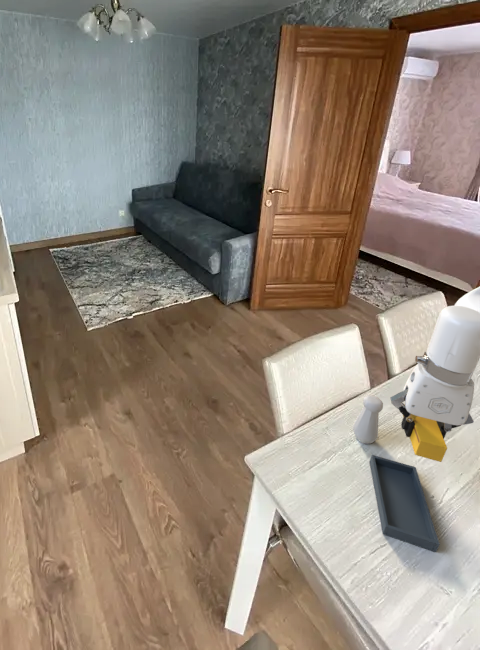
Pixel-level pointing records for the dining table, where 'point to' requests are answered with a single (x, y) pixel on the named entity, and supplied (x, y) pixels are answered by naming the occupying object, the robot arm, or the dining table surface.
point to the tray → (402, 503)
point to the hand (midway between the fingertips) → (420, 434)
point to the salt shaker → (368, 420)
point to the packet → (428, 439)
